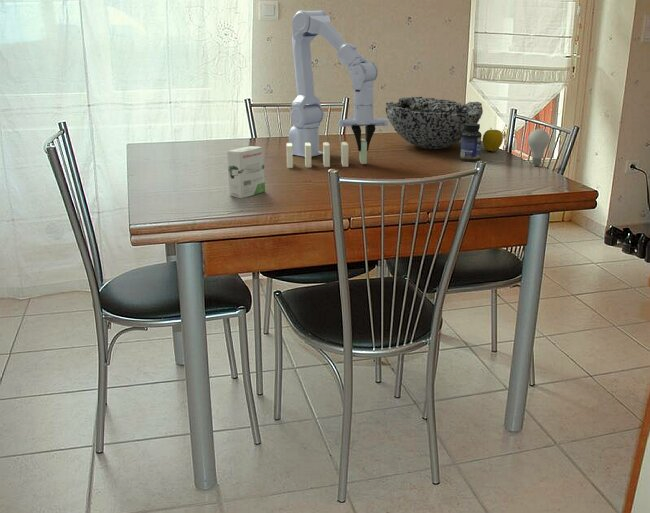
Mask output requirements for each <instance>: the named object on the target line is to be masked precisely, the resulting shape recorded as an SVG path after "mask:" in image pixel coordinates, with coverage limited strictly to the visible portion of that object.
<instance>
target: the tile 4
mask: <svg viewBox="0 0 650 513" xmlns="http://www.w3.org/2000/svg"><path fill="white" fill-rule="evenodd" d="M340 158H341V160H340V164H341V165H342V167H343V168H345V167H349V144H348V142H347V141H340Z"/></svg>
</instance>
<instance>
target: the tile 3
mask: <svg viewBox="0 0 650 513" xmlns="http://www.w3.org/2000/svg"><path fill="white" fill-rule="evenodd" d="M330 146H331V145H330V143H329V141H327V142H322V152H323V154H322V165H323V167H324V168H330V167H331V163H330V162H331V156H330V155H331V153H330V152H331V150H330V149H331V148H330Z"/></svg>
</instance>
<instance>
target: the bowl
mask: <svg viewBox="0 0 650 513" xmlns="http://www.w3.org/2000/svg"><path fill="white" fill-rule="evenodd" d="M482 104H483V103H482V102H480V101H469V102H467V103H465V104H462V103H461V102H458V101H454V100H449V99H440V98H434V97H422V96H407V97H400V98H399V99H398V102H393V101H389V102H386V104H385V105H386V106H385V114H386V117H387V119H388V122H390V124H391V126H392V127H393V128H394V131H395V132H396V133H397V134H398V135H399V136H400V137H402V139H404V140H405V141H406V142H407V143H410V145H413V146H415V147H419V148H422V149H427V150H439V149H445V148H448V147H452V146H453V145H456V144H457V143H459V142H461V134H462V132H464V131H465V129H464V124H466V123H477V124H479V122H480V120H481V118H482V116H483V112H484V109H483V105H482Z"/></svg>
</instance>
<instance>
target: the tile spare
mask: <svg viewBox="0 0 650 513" xmlns="http://www.w3.org/2000/svg"><path fill="white" fill-rule="evenodd" d="M358 153H359V154H358V155H359V156H358V158H359V159H358V160H359V162H360V164H361V165H367V162H368V161H367V160H368V159H367V158H368V151H367V142H366V138H361V151H358Z"/></svg>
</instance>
